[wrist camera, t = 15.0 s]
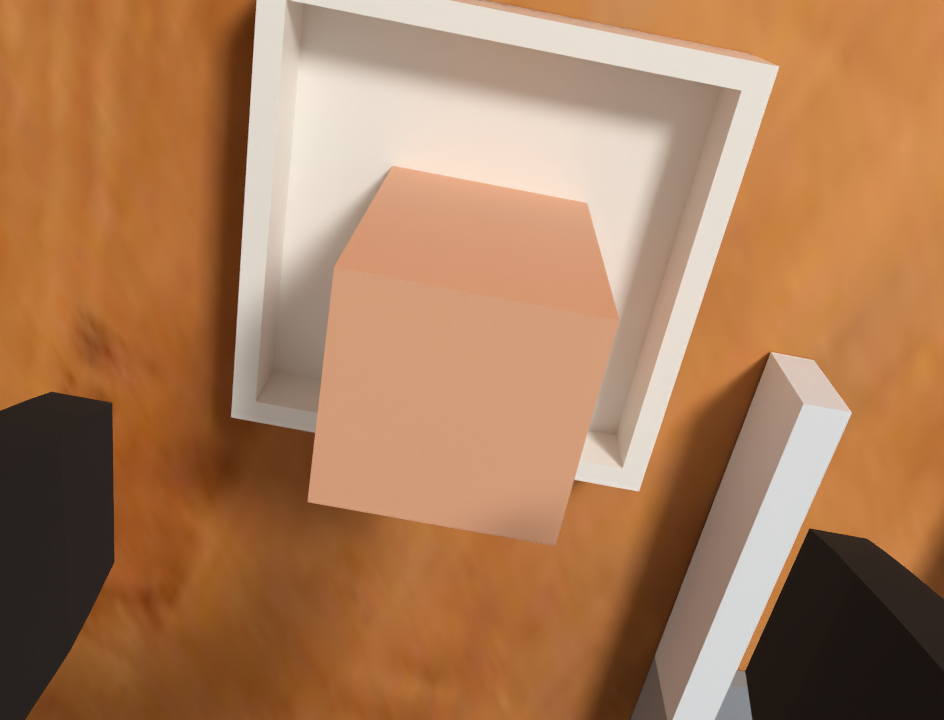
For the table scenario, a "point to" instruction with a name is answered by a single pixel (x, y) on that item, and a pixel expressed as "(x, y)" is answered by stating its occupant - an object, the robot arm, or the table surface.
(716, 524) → the channel
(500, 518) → the block
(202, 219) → the table surface
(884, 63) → the table surface
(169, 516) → the table surface
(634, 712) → the grey u-shaped piece
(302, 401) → the tray
